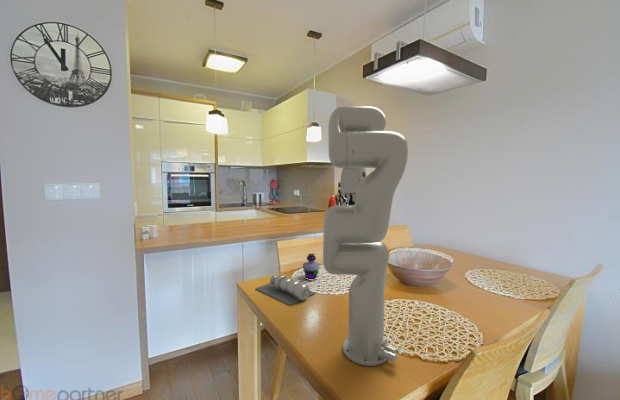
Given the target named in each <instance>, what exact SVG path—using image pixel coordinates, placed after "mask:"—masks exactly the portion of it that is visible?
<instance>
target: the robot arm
mask: <svg viewBox="0 0 620 400" xmlns="http://www.w3.org/2000/svg"><path fill="white" fill-rule="evenodd" d="M328 121H329V122H328V129H327V130H328V132H327V133H328V158H329V161H330V163H331V165H332V166H333V167H336V168H338V169H339V168H340V169H341V174H340V184H339V186H340V187H339V189H340V196H341V197H345V198H346V200H347V202H348V204H344V205H343V204H339V205H333V206H330V207H329V208H328V209H327V210H326V212H325V214H324V219H323V235H322V237H323V238H322V239H323V241H322V244H323V245H322V261H323V262H322V263H323V267H324V269H325V271H326V272H327V273H328V274H331V275H339V276H340V275H343V276H345V275H346V276H347V275H349V276H350V275H351V276H355V278H354V279H353V280H352V281H351V283H350V286H349V289H348V337H346V338H345V340H343V342H342V352H343V353H344V355H345V357H346V358H348V359H349V360H350V361H352V362H353V363H355V364H358V365H360V366H361V365H362V366H366V367H368V366H369V367H374V366H380V365H381V364H382V365H383V363H385V362H386V361H387V360H389V361H391V362H392V363H396V361H397V358H398V355H397V348H395V347H392V346H390V345H389V344H388V337H386V336H384V333H385V331H384V330H385V326H384V325H385V289H386V288H385V285H386V278H387V271H388V266H389V259H390V253H389V249H388V247H387V245H386V244H385V242H383V240H384V239H385V238H386V236H387V233H388V228H389V224H390V218H391V212H392V206H393V199H394V195H395V194H396V193H395V192H396V190H397V187H399V184H400V182H401V181H402V180H401V179H402V178H403V175H404V173H405V170H406V166H407V163H408V162H407V161H408V155H409V153H408V152H409V146H408V142H407V141H408V140H406V138H405V136H404V135H402V134H401V133H399V132H395V131H391V130H390V131H388V130H385V128H386V123H387V119H386V116H385V114H384V112H383V111H382V110H380V109H379V108H377V107H376V106H375V107H374V106H367V105H366V106H338V107H337V108H335V109H334V110H333V111H332V112H331V115H330V116H329V120H328ZM366 169H374V170H373V171H371V172H370V173H369V174H367V170H366Z"/></svg>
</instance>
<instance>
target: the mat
mask: <svg viewBox="0 0 620 400" xmlns="http://www.w3.org/2000/svg"><path fill="white" fill-rule="evenodd" d="M255 291H258V292H260V293H262V294H264V295H266V296H269V297H270V298H273V299H274V300H276V301H279V302H281V303H282V304H285V305H287V306H289V307H291V306H294V305H295V304H297V303H299V302H301V300H297V299H296V298H295V297H294V296H292V295H290V294H288V293H286V292H282V291H279V290H277V289H276V288H275V286H274V285H273V284H271V283H270V282H269V283H266V284H264V285H261V286H259V287H255ZM314 295H316V292H314V291H311V290H310V293H309V296H308V297H307V299H308V298H310V297H312V296H314Z"/></svg>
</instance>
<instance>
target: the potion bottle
mask: <svg viewBox="0 0 620 400" xmlns="http://www.w3.org/2000/svg"><path fill="white" fill-rule="evenodd" d="M316 259H317V257H316V256H315V253H307V256H306V261H307V262H304V263H303V264H302V269H303V272H304V275H305V279H306V278H308V279H315V278H316V277H318V274H319V270H320V267H321V263H319V262H316Z"/></svg>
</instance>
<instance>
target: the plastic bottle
mask: <svg viewBox="0 0 620 400" xmlns="http://www.w3.org/2000/svg"><path fill="white" fill-rule="evenodd" d="M269 283H271V284H273V285H274V286H275V288H276V289H277V290H279V291H282V292H286V293H288V294H290V295H292V296H294V297H295V298H296V299H297V300H301V301H305V300H307V299H308V298H309V297H308V296H309V293H310V291H311V289H310V287H309V284H307V283H304V282H301V281H300V282H299V281H295V280H293V279H291V278H290V277H288V276H286V275H285V274H280V275H272V276H271V277H270V280H269ZM307 297H308V298H307ZM301 301H300V302H301Z"/></svg>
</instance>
